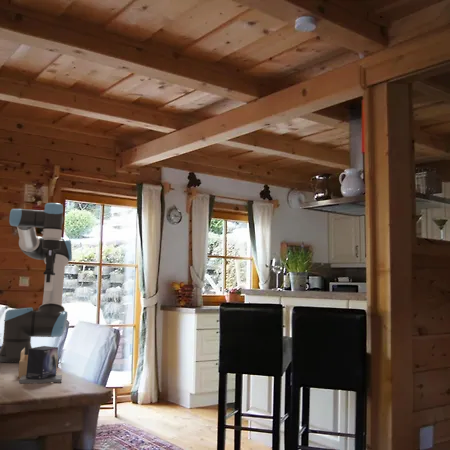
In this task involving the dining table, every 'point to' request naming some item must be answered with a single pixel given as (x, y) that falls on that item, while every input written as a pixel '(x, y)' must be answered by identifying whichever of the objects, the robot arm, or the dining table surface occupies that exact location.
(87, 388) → the dining table surface
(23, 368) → the carton
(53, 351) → the small box
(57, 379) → the board
